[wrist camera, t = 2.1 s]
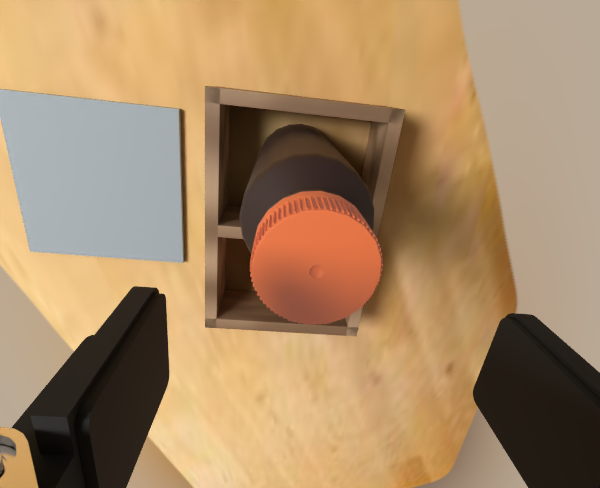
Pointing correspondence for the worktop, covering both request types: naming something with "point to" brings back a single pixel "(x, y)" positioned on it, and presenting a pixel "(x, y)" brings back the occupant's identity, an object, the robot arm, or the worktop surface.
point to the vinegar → (309, 229)
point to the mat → (96, 175)
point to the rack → (226, 219)
